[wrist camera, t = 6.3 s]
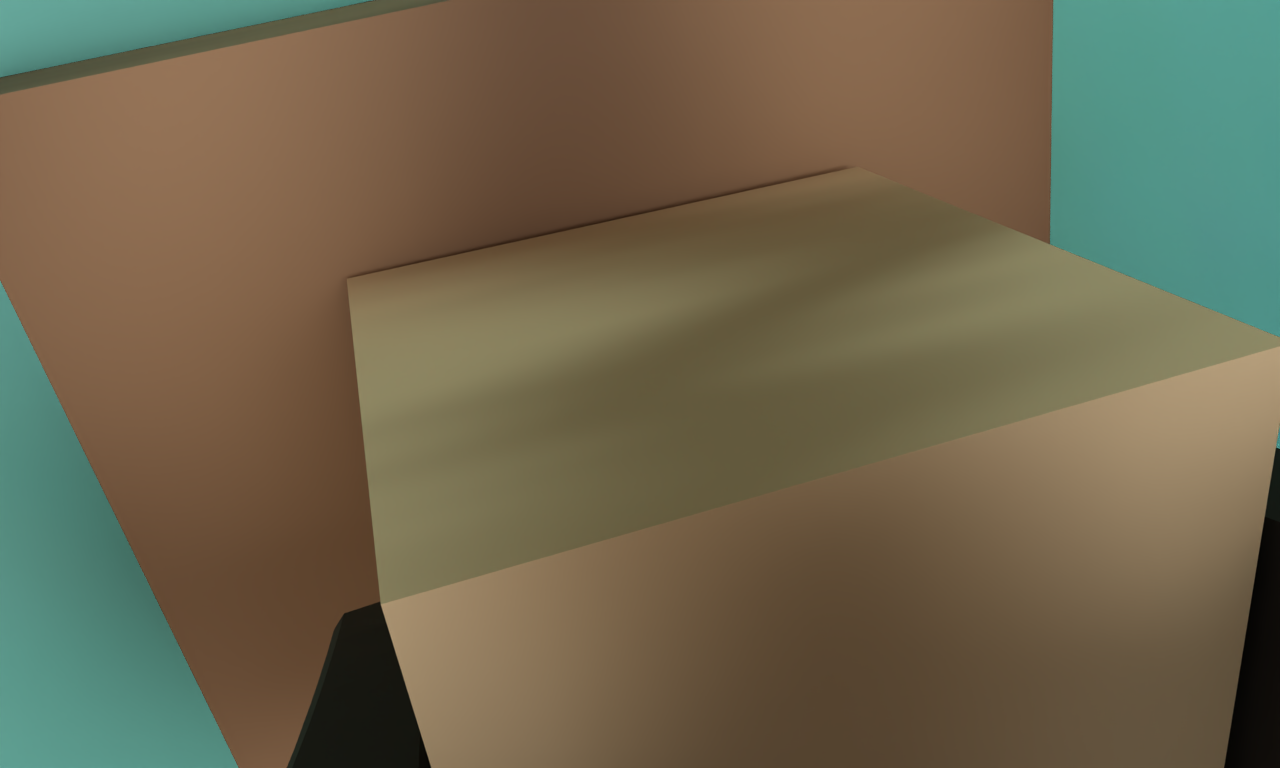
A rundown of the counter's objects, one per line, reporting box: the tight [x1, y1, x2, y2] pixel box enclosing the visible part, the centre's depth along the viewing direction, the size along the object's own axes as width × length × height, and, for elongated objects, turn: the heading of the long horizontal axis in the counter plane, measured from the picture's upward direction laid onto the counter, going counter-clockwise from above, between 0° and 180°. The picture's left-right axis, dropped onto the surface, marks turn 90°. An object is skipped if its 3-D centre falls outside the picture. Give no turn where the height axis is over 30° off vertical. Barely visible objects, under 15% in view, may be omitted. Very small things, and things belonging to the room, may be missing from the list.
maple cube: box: [347, 167, 1280, 768], centre depth 8 cm, size 5×5×5 cm
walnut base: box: [0, 0, 1053, 768], centre depth 12 cm, size 10×10×2 cm
